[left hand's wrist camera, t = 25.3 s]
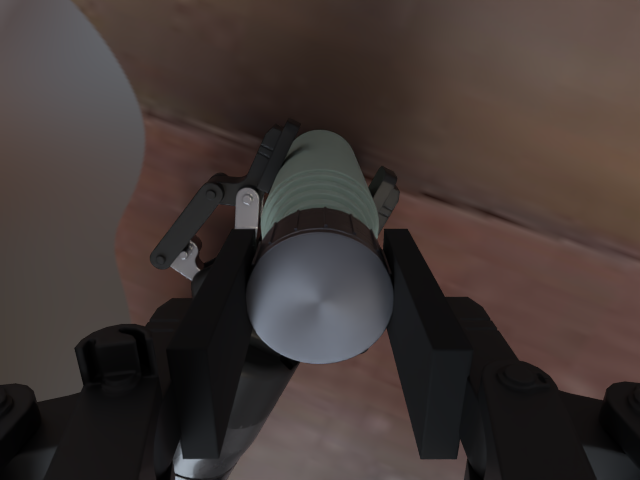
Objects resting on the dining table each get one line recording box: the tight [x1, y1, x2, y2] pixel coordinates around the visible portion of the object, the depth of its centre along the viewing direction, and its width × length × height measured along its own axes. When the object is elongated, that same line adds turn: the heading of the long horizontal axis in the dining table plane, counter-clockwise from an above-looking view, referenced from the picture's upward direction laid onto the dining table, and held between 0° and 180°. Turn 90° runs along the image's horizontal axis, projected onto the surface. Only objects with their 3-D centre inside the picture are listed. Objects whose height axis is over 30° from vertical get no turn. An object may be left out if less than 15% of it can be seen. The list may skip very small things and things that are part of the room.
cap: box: [246, 207, 394, 364], centre depth 13 cm, size 4×4×2 cm
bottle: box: [261, 130, 379, 240], centre depth 21 cm, size 5×5×18 cm
